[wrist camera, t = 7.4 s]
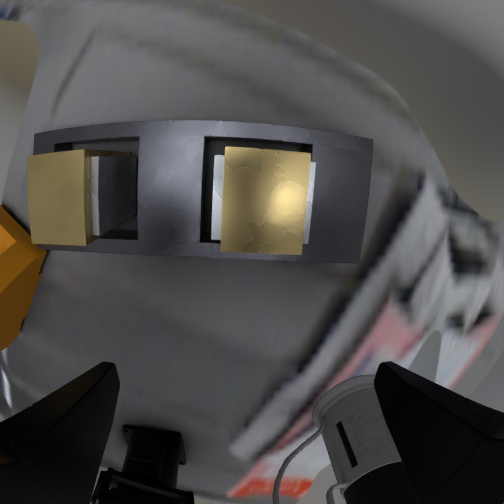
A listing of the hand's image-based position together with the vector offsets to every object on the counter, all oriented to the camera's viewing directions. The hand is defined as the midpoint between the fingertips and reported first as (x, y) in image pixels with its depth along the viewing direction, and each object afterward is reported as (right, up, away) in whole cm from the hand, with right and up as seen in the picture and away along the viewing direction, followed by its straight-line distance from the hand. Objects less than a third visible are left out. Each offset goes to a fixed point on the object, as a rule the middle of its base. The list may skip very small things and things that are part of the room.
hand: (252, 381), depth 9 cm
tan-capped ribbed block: (-10, +9, +9) cm, 16 cm away
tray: (-4, +8, +10) cm, 14 cm away
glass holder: (+8, -11, +17) cm, 22 cm away
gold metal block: (0, +8, +10) cm, 13 cm away
